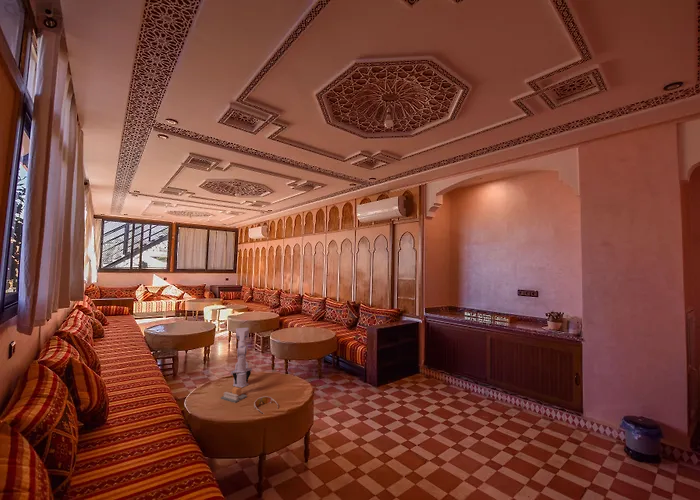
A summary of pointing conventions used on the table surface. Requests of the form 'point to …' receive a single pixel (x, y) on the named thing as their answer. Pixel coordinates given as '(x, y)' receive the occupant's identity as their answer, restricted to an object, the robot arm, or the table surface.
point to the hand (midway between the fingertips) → (241, 382)
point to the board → (233, 397)
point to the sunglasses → (263, 401)
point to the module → (237, 390)
